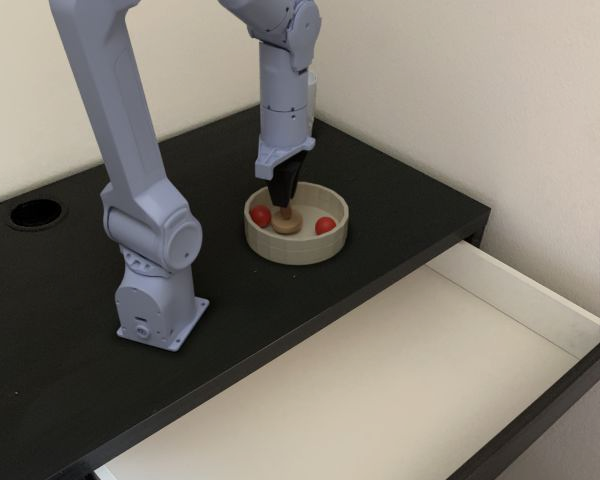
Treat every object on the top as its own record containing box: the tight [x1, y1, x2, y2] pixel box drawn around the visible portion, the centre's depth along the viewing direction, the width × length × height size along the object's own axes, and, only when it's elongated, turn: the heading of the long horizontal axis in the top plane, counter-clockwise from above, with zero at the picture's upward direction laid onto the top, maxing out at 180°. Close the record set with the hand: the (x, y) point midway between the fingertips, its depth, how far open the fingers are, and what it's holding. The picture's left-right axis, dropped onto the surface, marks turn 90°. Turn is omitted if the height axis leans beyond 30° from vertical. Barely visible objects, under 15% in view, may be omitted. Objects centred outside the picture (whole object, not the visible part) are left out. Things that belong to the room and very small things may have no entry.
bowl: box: [243, 181, 350, 266], centre depth 92 cm, size 14×14×4 cm
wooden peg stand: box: [271, 198, 303, 233], centre depth 90 cm, size 4×4×8 cm
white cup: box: [307, 68, 319, 138], centre depth 108 cm, size 8×8×10 cm
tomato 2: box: [315, 217, 336, 235], centre depth 91 cm, size 3×3×3 cm
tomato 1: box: [250, 205, 272, 227], centre depth 92 cm, size 3×3×3 cm
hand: (283, 201), depth 90 cm, fingers closed on wooden peg stand, 2 cm apart
